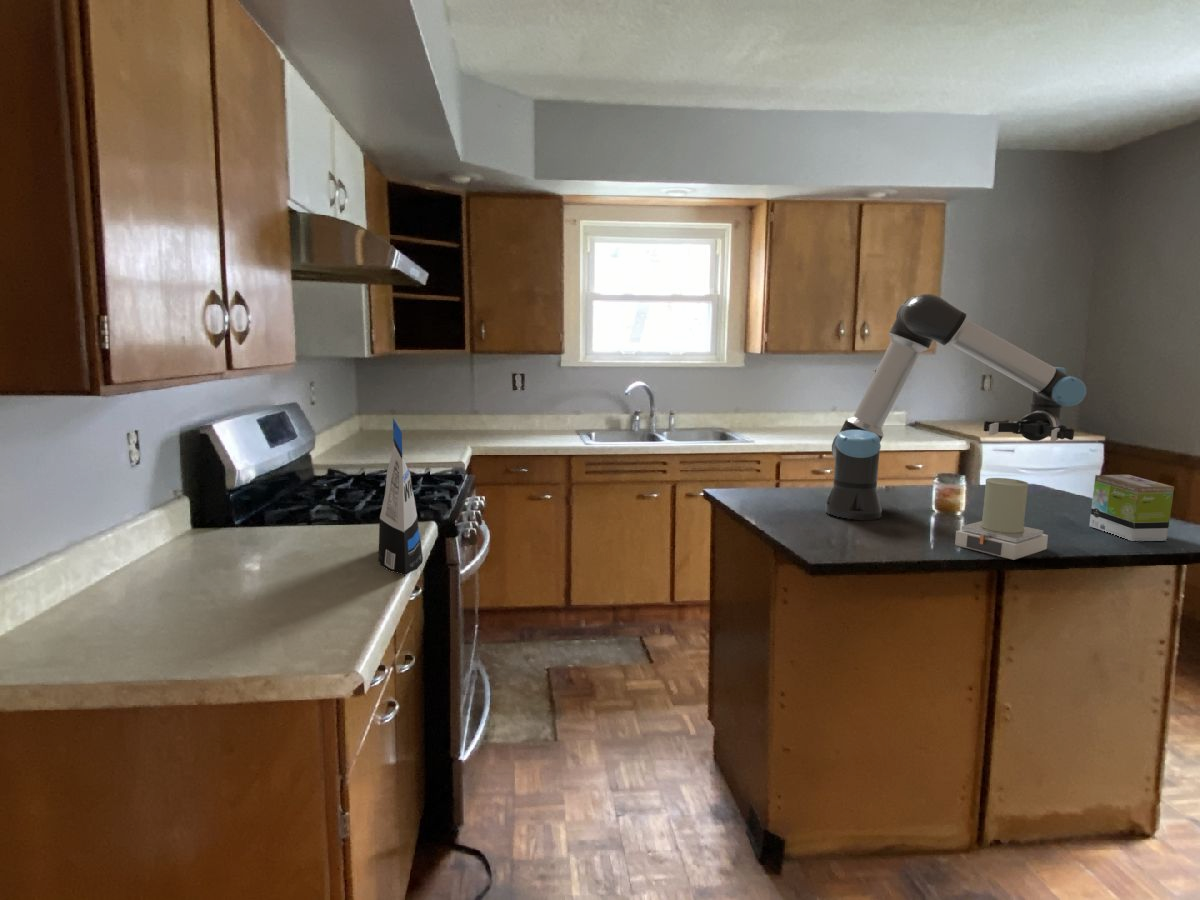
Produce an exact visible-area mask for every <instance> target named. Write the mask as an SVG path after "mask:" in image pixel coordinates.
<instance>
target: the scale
mask: <svg viewBox="0 0 1200 900" xmlns="http://www.w3.org/2000/svg"><path fill="white" fill-rule="evenodd" d="M980 535H981V534H977V533H972V532H968V531H964V530H962V529H959V530H956V531H955V541H954V546H957V547H961V548H965V549H969V550H974V551H977V552H981V553H985V554H989V555H992V556H997V557H1002V558H1004V559H1009V560H1013V561H1014V560H1019V559H1021V558H1024V557H1027V556H1031V555H1034V554H1036V553H1039V552H1042V551H1045V550H1047V548H1048V539H1049V535H1048V534H1045V533H1043V535H1040V536H1037V537H1034V538H1030V539H1027V540H1024V541H1020V542H1017V543H1015V542H1011V541H1007V540H1002V539H998V538H994V537H987V538H985V544H980Z"/></svg>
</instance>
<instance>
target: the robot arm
mask: <svg viewBox="0 0 1200 900" xmlns="http://www.w3.org/2000/svg"><path fill="white" fill-rule="evenodd" d="M888 336H889V338H890V343H889V345H888V346H887V349H886V350H885V353H884V354H883V357H882V359H881V360H880V363H879V364H878V367H877V368H876V371H875V373H874V375H873V376H872V379H871V380H870V382H869V385H868V387H867V388H866V390H865V392H864V395H863V397H862V398H861V401H860V402H859V404H858V407H857V408H856V410H855V413H854V414H853V416H851V417H848V418H846V419H845V421H844V423H843V425H842V427H841V429H840V431H839V432H838V433H837V434H836V436H834V439H833V441H832V444H831V454H832V456H833V458H834V469H833V472H834V473H833V484H832V488H831V491H830V492H829V496H828V498H827V501H826V503H825V507H824V508H825V510H824V511H826V512H827V513H829V514H831V515H834V516H838V517H842V518H841V519H843V518H848V519H847V520H850V519H858V520H857V521H873V520H874V519H875V520H878V518H879V519H880V517H881V518H882V511H883V510H882V509H883V508H882V506H881V502H880V498H879V495H878V494H879V493H878V490H877V489H878V487H877V486H878V474H879V462H880V460H879V459H880V451H881V447H882V446H881V442H882V440H883V437H884V436H885V435H884V433H883V432H884V431H883V426H884V423H885V422H886V420H887V418H888V417H889V414H890V412H891V410H892V409H893V407H894V405H895V403H896V400H897V399H898V397H899V395H900V392H901V390H902V389H903V387H904V385H905V383H906V382H907V379H908V377H909V376H910V374H911V371H912V369H913V368H914V365H915V364H916V362H917V359H918V358H919V356H920V354H921V353H923V352H925V351H927V350H929V349H930V347H931V345H932V343H933V341H935V342H937V343H939V344H940V345H943V346H944V347H946V346H952V347H954V348H956V349H958V350H960V351H962V353H965V354H967V355H968V356H970V357H972V358H974V359H976V360H977V361H980V362H981V363H983V364H985V365H986V366H988V367H990V368H992V369H993V370H996V371H997V372H1000V373H1001V374H1002V375H1005V376H1006V377H1008V378H1010V379H1012V380H1014V381H1015V382H1017V383H1019V384H1021V385H1023V386H1024V387H1026V388H1028V389H1030V390H1031V400H1030V401H1031V402H1030V406H1029V407H1030V408H1029V413H1028V414H1026V415H1024V416H1023V417H1022V418H1021V420H1014V421H1013V422H1012V421H1011V420H1010V419H1009V420H1008V419H1006V420H1005V419H1004V420H991V421H990V420H989V421H988V420H986V421H984V422H983V423H984V424H983V432H988V436H995V435H997V434H999V433H1012V434H1013V435H1014V434H1015V435H1021V436H1022V437H1024V438H1025V440H1028V441H1033V442H1039V441H1042V440H1044V439H1046V438H1049V437H1050V442H1056V441H1058V440H1059V439H1060V440H1065V439H1066V440H1069V441H1073V440H1074V436H1075V429H1073V428H1069V427H1067V425H1063V419H1062V409H1063V407H1073V406H1076V405H1078V404H1080V403H1081V402H1082V401H1083V400H1084V399H1085V397H1086V395H1087V387H1086V384H1085V383H1084V381H1082V380H1081V379H1080V378H1078V377H1076V376H1073V375H1072V376H1071V375H1068V374H1067V369H1066V368H1065V367H1062V366H1061V367H1059V366H1052V365H1051V364H1050V363H1047V362H1045V361H1043V360H1042V359H1040V358H1038V357H1036V356H1035V355H1032V354H1031V353H1030V352H1027V351H1025V350H1024V349H1022V348H1020V347H1019V346H1016V345H1014V344H1012V343H1011V342H1009V341H1007V340H1006V339H1004V338H1002V337H1000V336H998V335H997V334H995V333H993V332H991V331H989V330H987V329H986V328H984V327H982V326H980V325H979V324H977V323H974V322H973V321H971V320H969V315H968V314H967V313H965V312H963V311H961V310H960V309H958V308H957V307H956V306H953V304H951V303H949V302H948V301H946V300H945V299H944V298H942V297H940V296H938V295H935V294H931V293H925V294H920V295H915V296H913V297H911V298H910V297H909V298H908V299H907V300H905V301H904V302H903V303H902V304H901V305H900V307H899V308H898V310H897V313H896V317H895V321H894V322H893V325H892V327H891V328H890V331H889V333H888ZM826 512H825V513H826ZM827 513H826V514H827ZM829 514H828V515H829ZM831 515H830V516H831ZM834 516H833V517H834ZM838 517H837V518H838ZM875 520H874V521H875Z"/></svg>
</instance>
